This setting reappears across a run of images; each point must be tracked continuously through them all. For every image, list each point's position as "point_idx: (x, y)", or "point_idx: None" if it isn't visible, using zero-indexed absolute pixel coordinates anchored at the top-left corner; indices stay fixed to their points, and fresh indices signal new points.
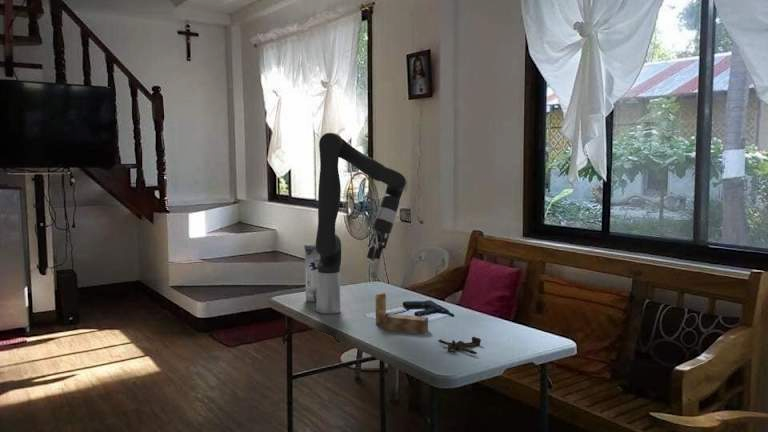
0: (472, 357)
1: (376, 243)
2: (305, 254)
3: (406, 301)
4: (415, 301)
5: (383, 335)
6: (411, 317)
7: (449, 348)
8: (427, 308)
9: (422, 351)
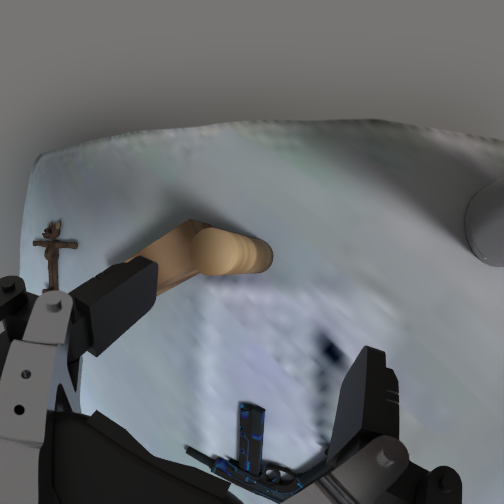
0: (38, 236)
1: (47, 342)
2: None
3: None
4: None
5: (174, 189)
6: None
7: (52, 225)
8: (270, 466)
9: (79, 192)
